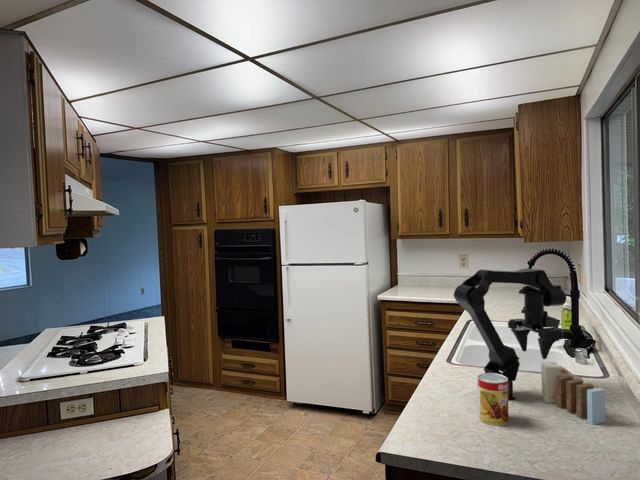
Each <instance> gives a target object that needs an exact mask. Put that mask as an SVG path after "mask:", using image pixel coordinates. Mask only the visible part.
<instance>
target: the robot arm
mask: <svg viewBox="0 0 640 480" xmlns="http://www.w3.org/2000/svg"><path fill="white" fill-rule="evenodd" d="M492 283H494V284H496V283H497V284H499V283H501V284H519V285H523V287H522V288H521V289H520V290H519V291H518V294H521V295H523V296H524V297H523V298H524V301H523V302H524V304H523V305H524V307H523V308H524V309H521V312H520V313H521V314H524V315H523V316H524V318H511V319H509V320H508V322H507V327H508V328H509V329H510V331H511V332H512V333H513V335H514V336H515V338H516V340H517V342H518V344H519V346H520V349H521V351H522V352H527V348H528V335H529V334H530V332H533V333H537V334H538V338H537V342H538V346H539V350H540V355H541V357H542V359H543V360H546V359H547V358H548V355H549V353H550V350H551V348H552V346H553V344H554V343H555V342H559V341H560V340H564V332H563V330H561V329H559V326H560V323H561V319H558V318H555V317H553V316H549V314H548V311H547V310H545V307H556V306H558V307H559V306H563V305H565V304H566V302H567V295H566V293H565V292H564V290H563V289H562V286H561V285H559V284H552V282H551V280H550V278H549V277H548V275H547V273H546V271H545V270H544V269H543V270H542V269H537V268H536V269H535V268H528V267H527V268H521V269H518V270H515V271H513V270H512V271H511V270H489V269H483V268H482V269H479V270H477V271H476V272H475V273H474V274H473V275H472V276H470V277H469V278H466V279H465V280H463V282H462V283H461V284H460V285H458V286H456V288H455V290H454V292H453V297H454V299H455V301H456V303H457V304H458V305H459V306H460V307H461V308H462V309H463V310H464V311H466V313H468V314H469V316H470V317H471V320H472V321H473V323H474V324H475V327H476V328H477V330H478V332H479V334H480V336H481V338H482V340H483V341H484V344H485V345H486V346H487V348H488V359H489V361H488V362H487V363H486V365H485V366H484V367H483V371H484V373H496V374H501V375H503V376H505V377H507V379H508V401H509V400H515V399H516V396H515V395H514V382H515V381H516V379H517V376H518V372H519V368H520V366H521V363H520V361H519V360H520V359H521V358H520V357H519V356H518V355H517V352H516V350H515V349H514V348H513V347H510V346H508V345H505V344H504V343H503V341H502V338H501V337H500V335H499V333H498V332H497V330H496V327H495V326H494V324H493V322H492V319H490V317H489V315H488V313H487V311H486V309H485V305H486V304H485V296H486V295H487V294H488V292H489V290H490V286H491V285H492Z"/></svg>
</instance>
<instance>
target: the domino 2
mask: <svg viewBox="0 0 640 480" xmlns="http://www.w3.org/2000/svg"><path fill="white" fill-rule="evenodd" d="M581 384H583V381H582V380H580V379H575V380H569V381H566V406H567V408H566V412H567V413H568V414H577V405H576V385H581Z"/></svg>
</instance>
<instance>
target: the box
mask: <svg viewBox="0 0 640 480" xmlns="http://www.w3.org/2000/svg"><path fill="white" fill-rule="evenodd" d="M560 366H561V365H559V364H558V363H556V362H552V361H551V362H550V361H548V362H547V361H541V363H540V367H541V368H540V369H541V372H540V373H541V396H542V398H543V399H544V401H545V402H546V403H551V404H552V403H554V404H555V403H556V404H557V379H556V377H559V376H561V367H560Z"/></svg>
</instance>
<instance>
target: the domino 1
mask: <svg viewBox="0 0 640 480" xmlns="http://www.w3.org/2000/svg"><path fill="white" fill-rule="evenodd" d="M556 379H557V403H556V407H557V408H559V409H561V410H562V409H567V406H566V381H569V380H573V377H572V376H570V375H566V376H559V377H556Z"/></svg>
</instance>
